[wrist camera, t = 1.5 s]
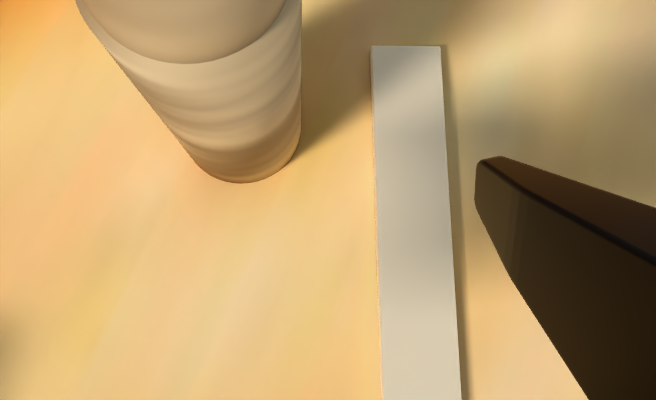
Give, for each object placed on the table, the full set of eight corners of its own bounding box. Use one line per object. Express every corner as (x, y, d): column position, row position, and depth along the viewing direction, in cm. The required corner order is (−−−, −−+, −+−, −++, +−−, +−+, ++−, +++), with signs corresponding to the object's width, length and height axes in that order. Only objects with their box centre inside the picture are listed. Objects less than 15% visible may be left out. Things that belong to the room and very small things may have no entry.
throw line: (458, 435, 19) (463, 439, 19) (382, 437, 19) (384, 441, 19) (436, 52, 22) (440, 46, 22) (370, 51, 22) (371, 45, 22)
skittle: (325, 126, 22) (361, -120, 9) (240, 208, 21) (144, 65, 8) (243, 49, 22) (165, -292, 9) (157, 125, 21) (-59, -133, 8)
